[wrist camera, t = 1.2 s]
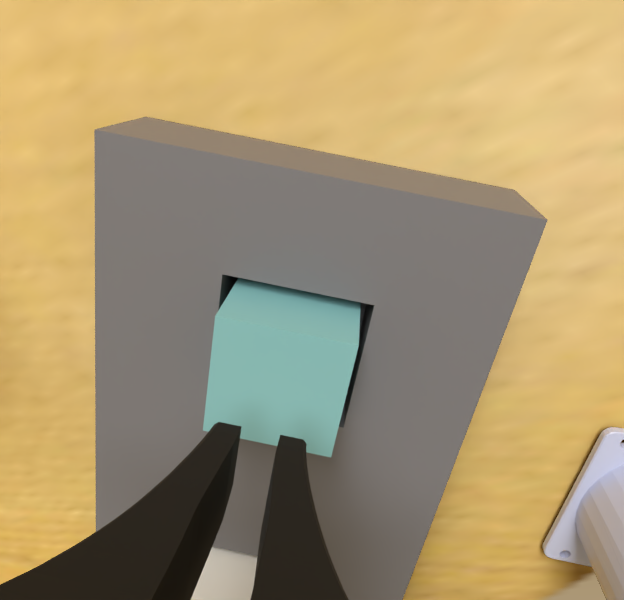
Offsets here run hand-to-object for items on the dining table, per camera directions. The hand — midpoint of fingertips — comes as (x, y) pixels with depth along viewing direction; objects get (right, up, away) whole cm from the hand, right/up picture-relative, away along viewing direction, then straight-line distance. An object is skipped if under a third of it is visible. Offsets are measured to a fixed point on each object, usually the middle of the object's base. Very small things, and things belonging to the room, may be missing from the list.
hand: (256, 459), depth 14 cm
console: (0, -2, +11) cm, 11 cm away
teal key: (+1, +3, +6) cm, 6 cm away
